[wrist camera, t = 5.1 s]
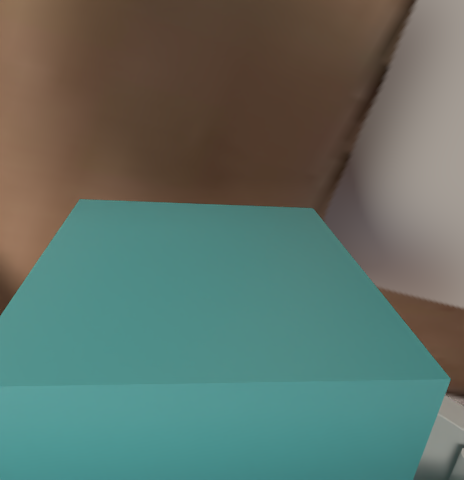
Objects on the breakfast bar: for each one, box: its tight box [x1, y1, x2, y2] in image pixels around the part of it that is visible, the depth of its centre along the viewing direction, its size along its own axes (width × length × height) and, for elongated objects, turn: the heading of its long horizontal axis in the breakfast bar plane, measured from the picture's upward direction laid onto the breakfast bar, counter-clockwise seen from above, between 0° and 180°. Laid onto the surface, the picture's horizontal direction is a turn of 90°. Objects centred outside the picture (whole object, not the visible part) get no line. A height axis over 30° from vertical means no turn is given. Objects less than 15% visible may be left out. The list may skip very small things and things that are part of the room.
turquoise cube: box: [0, 199, 451, 480], centre depth 9 cm, size 6×6×7 cm
